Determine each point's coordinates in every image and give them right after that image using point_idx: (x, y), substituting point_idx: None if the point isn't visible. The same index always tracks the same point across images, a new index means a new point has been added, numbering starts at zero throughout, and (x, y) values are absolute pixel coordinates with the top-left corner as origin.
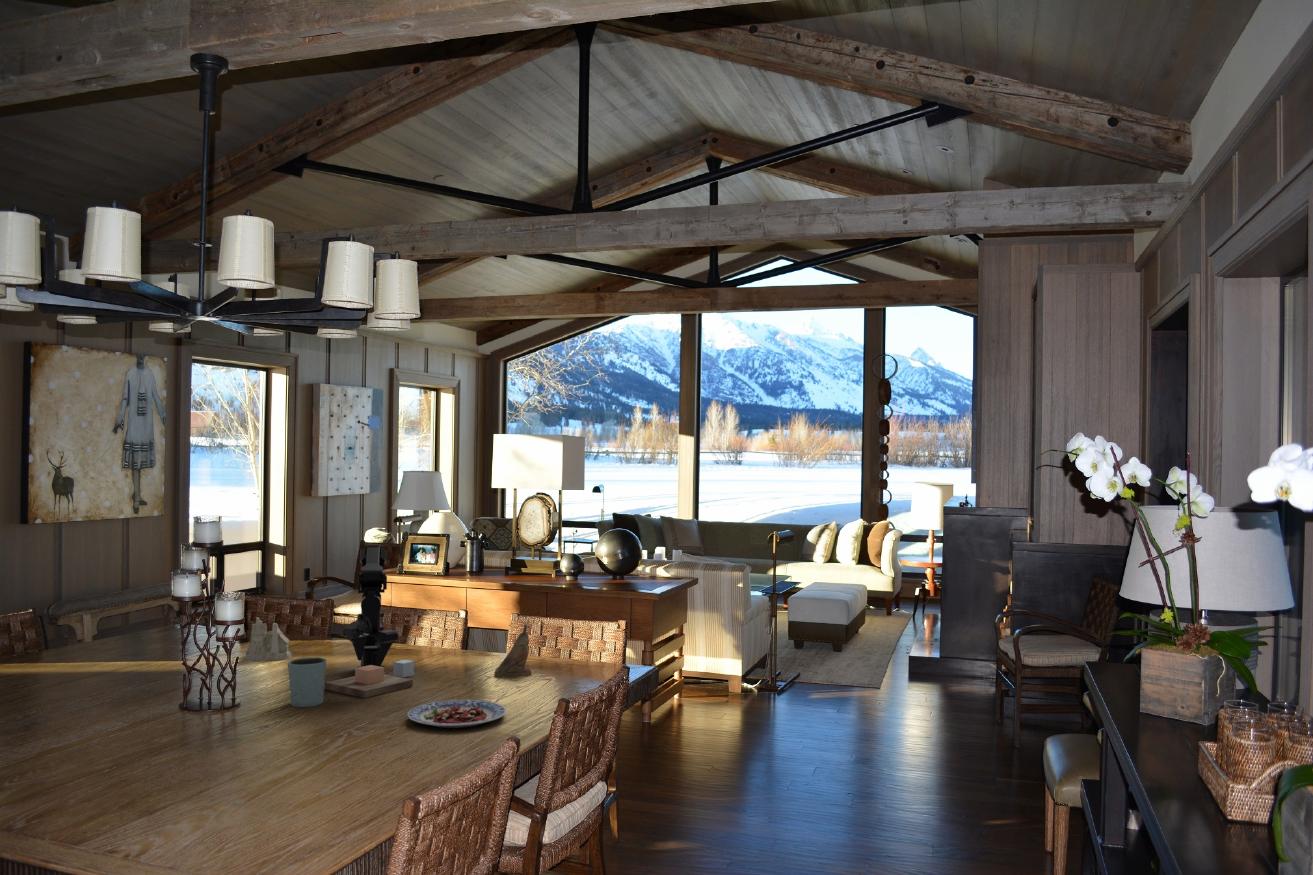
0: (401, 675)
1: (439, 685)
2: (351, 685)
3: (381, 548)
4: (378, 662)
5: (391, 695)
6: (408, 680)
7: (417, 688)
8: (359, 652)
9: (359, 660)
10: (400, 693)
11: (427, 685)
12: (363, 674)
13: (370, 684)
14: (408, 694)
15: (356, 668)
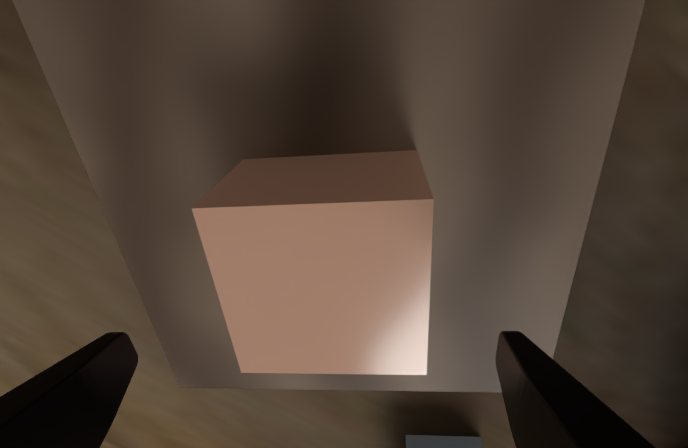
0: (417, 443)
1: (137, 417)
2: (297, 22)
3: None
4: (104, 342)
5: (39, 165)
6: (175, 367)
7: (136, 342)
8: (547, 444)
9: (499, 336)
10: (67, 230)
11: (169, 396)
12: (284, 183)
13: (221, 166)
14: (19, 241)
15: (407, 200)
